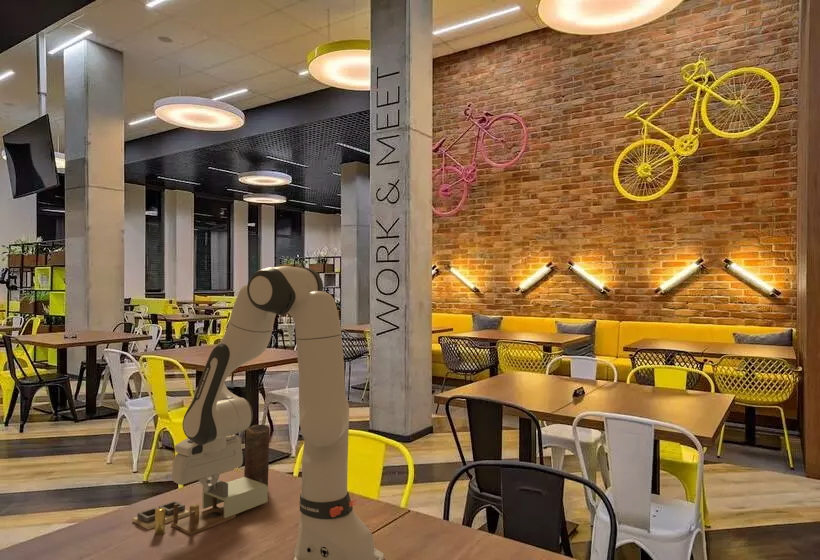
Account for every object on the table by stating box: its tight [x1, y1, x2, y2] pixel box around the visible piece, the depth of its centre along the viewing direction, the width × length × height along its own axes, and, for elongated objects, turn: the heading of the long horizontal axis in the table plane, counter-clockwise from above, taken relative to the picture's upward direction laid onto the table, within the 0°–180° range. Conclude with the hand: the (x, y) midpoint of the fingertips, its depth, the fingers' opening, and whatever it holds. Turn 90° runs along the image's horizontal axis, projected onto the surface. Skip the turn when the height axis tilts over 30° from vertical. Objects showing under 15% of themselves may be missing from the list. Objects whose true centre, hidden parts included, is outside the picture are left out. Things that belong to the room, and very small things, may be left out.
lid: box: [201, 476, 269, 518], centre depth 164 cm, size 11×15×9 cm
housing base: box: [170, 497, 237, 536], centre depth 156 cm, size 9×14×6 cm, turn 143°
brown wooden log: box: [243, 424, 270, 487], centre depth 178 cm, size 8×7×20 cm
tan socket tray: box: [132, 500, 190, 530], centre depth 157 cm, size 8×12×2 cm, turn 143°
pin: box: [154, 507, 166, 535], centre depth 149 cm, size 2×2×6 cm
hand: (209, 491), depth 157 cm, fingers closed
